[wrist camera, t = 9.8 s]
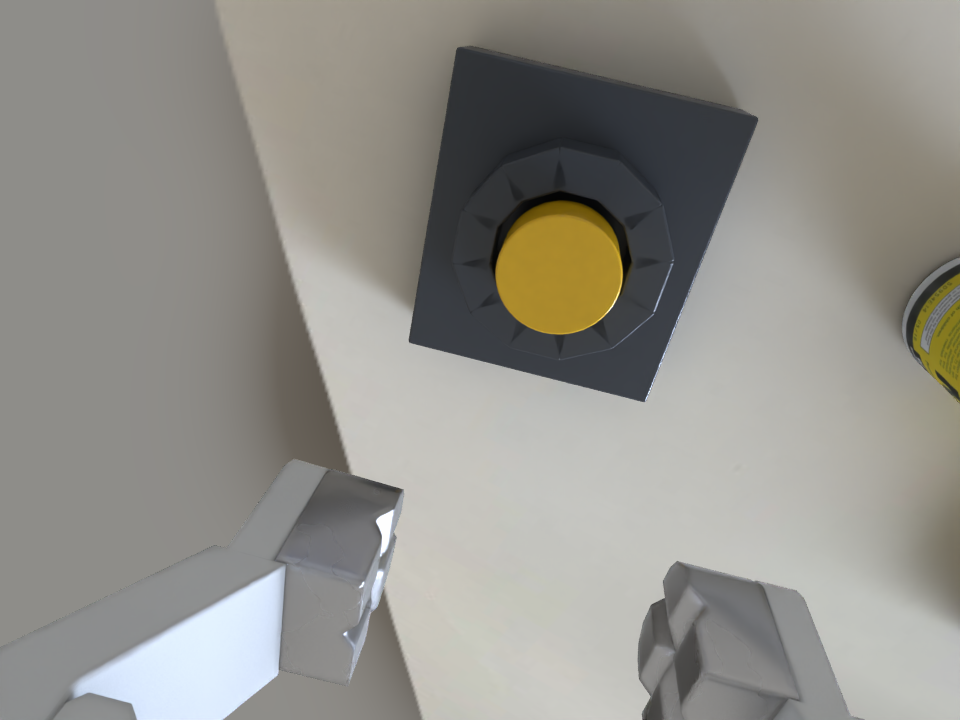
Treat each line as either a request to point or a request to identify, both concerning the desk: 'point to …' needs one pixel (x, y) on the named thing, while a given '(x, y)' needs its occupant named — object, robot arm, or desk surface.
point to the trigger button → (559, 268)
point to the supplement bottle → (936, 326)
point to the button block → (579, 178)
